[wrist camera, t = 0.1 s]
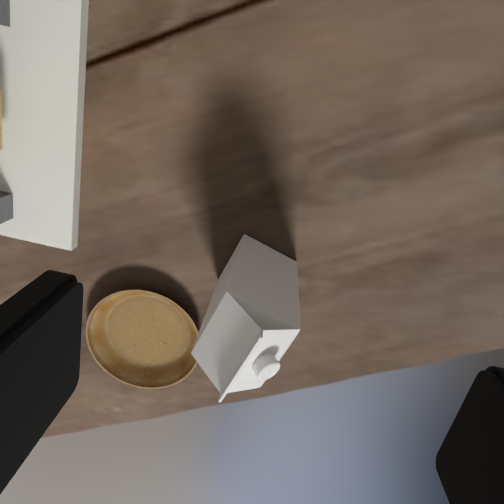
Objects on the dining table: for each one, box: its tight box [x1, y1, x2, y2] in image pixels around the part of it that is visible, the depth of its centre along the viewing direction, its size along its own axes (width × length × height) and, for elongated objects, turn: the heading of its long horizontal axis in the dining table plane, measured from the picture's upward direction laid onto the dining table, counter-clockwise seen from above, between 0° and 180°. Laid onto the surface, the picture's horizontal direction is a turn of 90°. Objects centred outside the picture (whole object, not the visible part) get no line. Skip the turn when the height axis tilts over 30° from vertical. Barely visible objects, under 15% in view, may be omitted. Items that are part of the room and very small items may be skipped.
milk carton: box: [191, 234, 300, 402], centre depth 40 cm, size 7×7×19 cm
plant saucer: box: [86, 290, 198, 389], centre depth 52 cm, size 15×15×3 cm
